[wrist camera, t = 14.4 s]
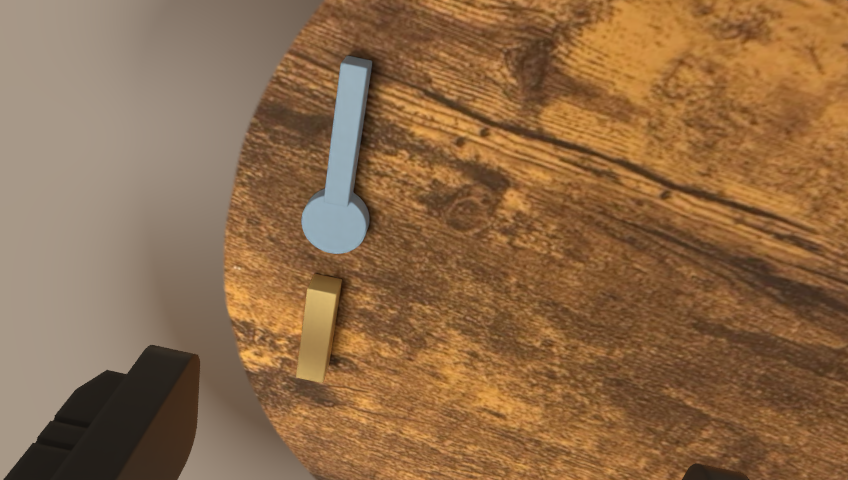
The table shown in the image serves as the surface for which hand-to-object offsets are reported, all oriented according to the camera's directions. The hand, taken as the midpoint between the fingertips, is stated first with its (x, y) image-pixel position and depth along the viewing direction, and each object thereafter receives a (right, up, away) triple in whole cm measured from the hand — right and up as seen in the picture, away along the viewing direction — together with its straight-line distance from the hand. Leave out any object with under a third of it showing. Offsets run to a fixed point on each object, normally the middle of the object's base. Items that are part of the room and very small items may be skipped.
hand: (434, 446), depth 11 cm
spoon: (-4, +9, +28) cm, 29 cm away
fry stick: (-7, -2, +33) cm, 34 cm away
